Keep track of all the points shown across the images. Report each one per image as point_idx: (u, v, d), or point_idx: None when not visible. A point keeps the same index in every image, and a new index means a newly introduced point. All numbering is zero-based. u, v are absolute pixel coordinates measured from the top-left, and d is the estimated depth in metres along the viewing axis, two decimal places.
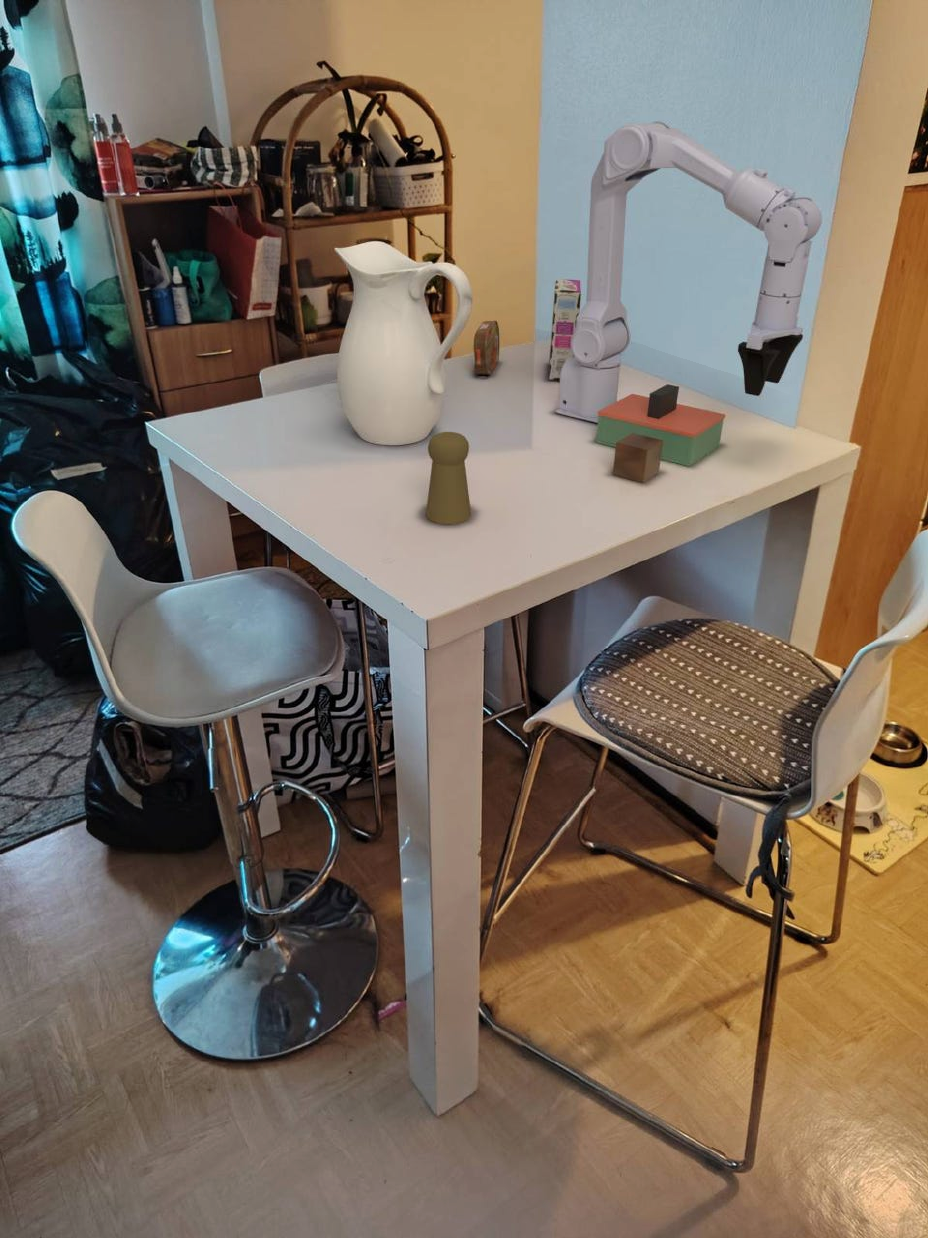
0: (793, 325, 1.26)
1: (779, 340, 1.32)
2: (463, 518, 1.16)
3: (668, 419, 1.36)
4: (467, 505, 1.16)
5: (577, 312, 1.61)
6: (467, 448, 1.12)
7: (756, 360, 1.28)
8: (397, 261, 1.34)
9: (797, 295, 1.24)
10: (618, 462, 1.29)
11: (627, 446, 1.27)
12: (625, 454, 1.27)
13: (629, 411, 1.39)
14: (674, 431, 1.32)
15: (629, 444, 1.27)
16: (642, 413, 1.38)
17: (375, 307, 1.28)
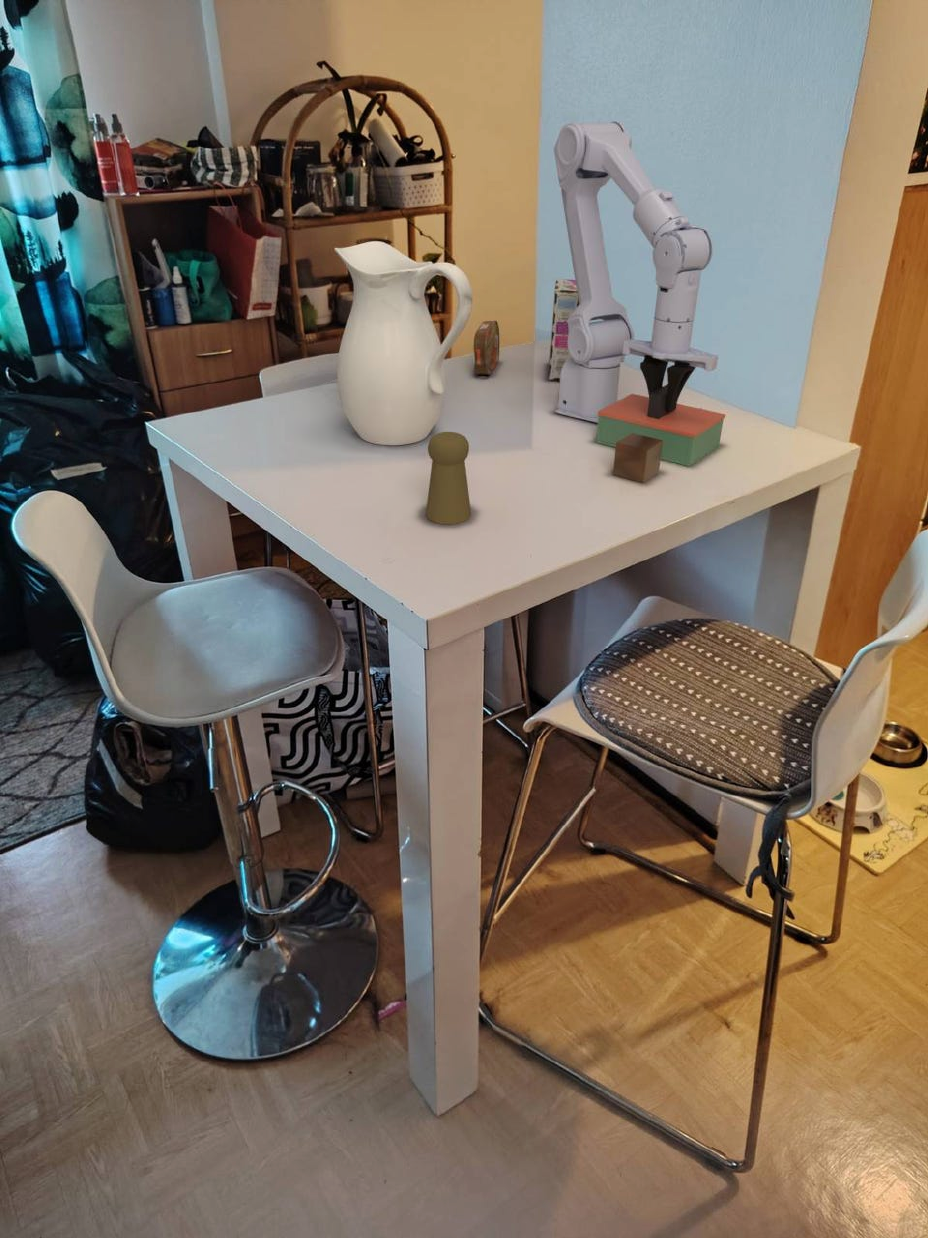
0: (660, 349, 1.31)
1: None
2: (463, 518, 1.16)
3: (668, 419, 1.36)
4: (467, 505, 1.16)
5: None
6: (467, 448, 1.12)
7: None
8: (397, 261, 1.34)
9: (660, 319, 1.29)
10: (618, 462, 1.29)
11: (627, 446, 1.27)
12: (625, 454, 1.27)
13: (629, 411, 1.39)
14: (674, 431, 1.32)
15: (629, 444, 1.27)
16: (642, 413, 1.38)
17: (375, 307, 1.28)
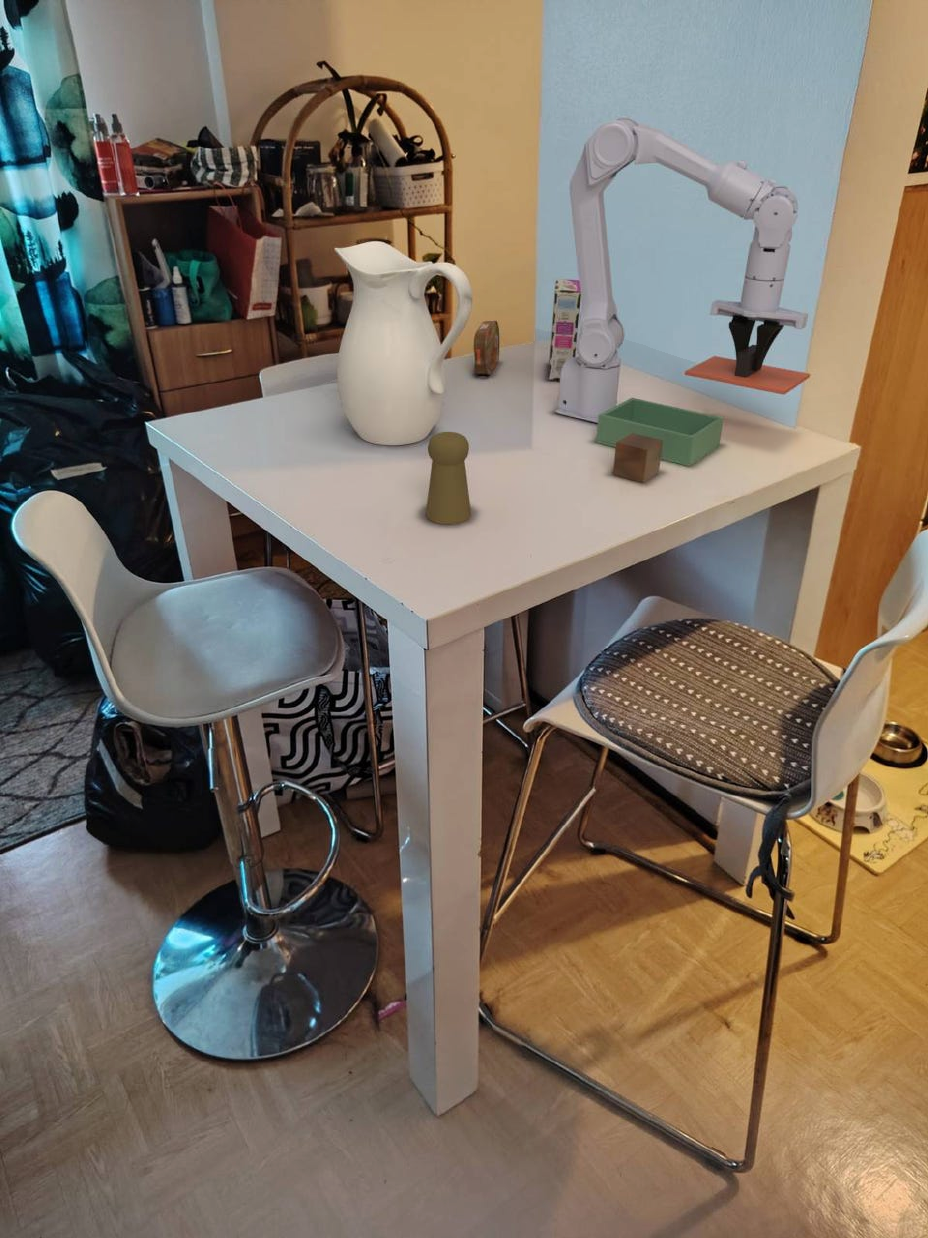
0: (750, 307, 1.34)
1: None
2: (463, 518, 1.16)
3: (755, 378, 1.38)
4: (467, 505, 1.16)
5: (577, 312, 1.61)
6: (467, 448, 1.12)
7: None
8: (397, 261, 1.34)
9: (752, 278, 1.32)
10: (618, 462, 1.29)
11: (627, 446, 1.27)
12: (625, 454, 1.27)
13: (715, 371, 1.41)
14: (764, 388, 1.35)
15: (629, 444, 1.27)
16: (729, 373, 1.41)
17: (375, 307, 1.28)
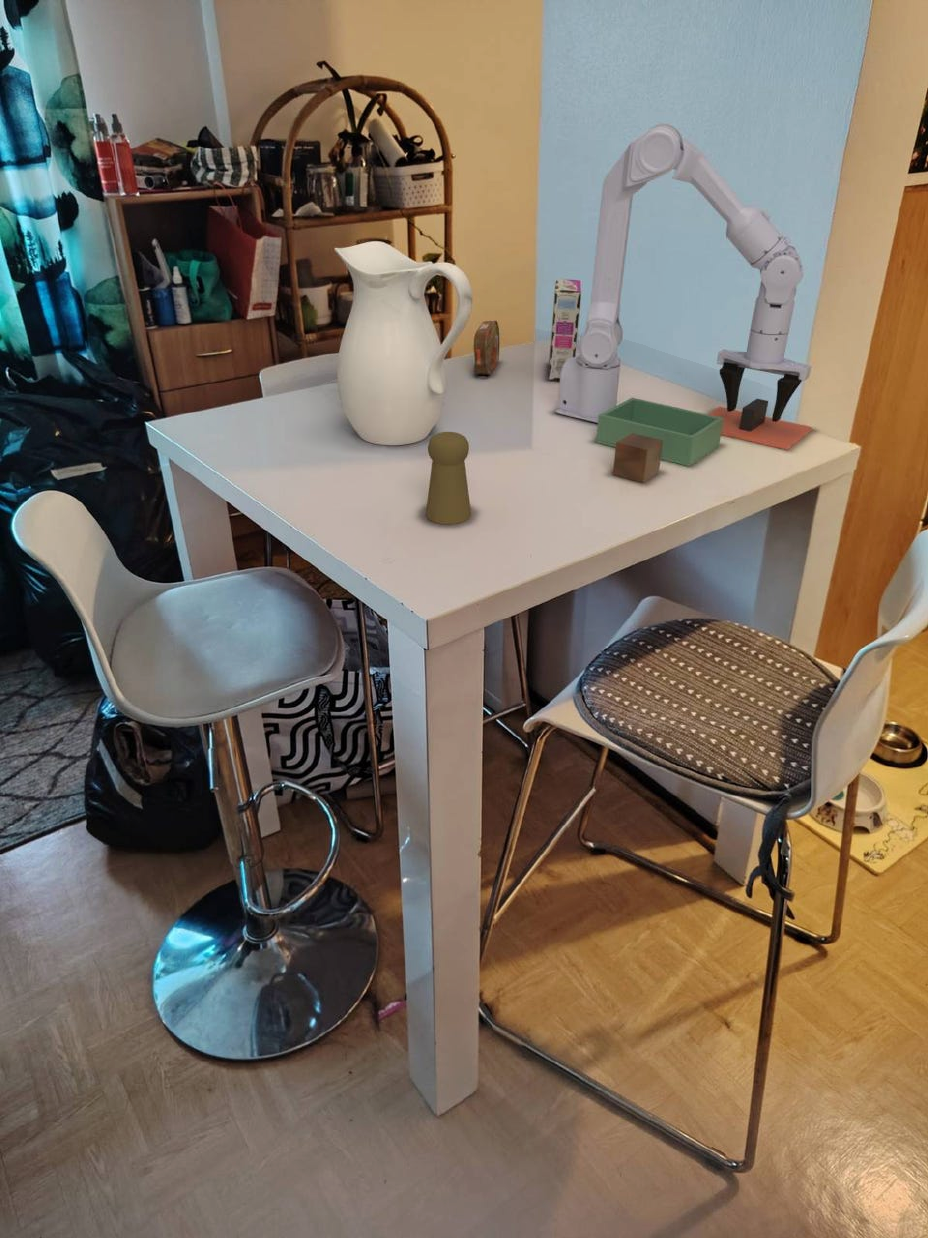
0: (756, 359, 1.39)
1: None
2: (463, 518, 1.16)
3: (759, 432, 1.44)
4: (467, 505, 1.16)
5: (577, 312, 1.61)
6: (467, 448, 1.12)
7: None
8: (397, 261, 1.34)
9: (757, 331, 1.37)
10: (618, 462, 1.29)
11: (627, 446, 1.27)
12: (625, 454, 1.27)
13: None
14: (767, 443, 1.41)
15: (629, 444, 1.27)
16: (734, 426, 1.46)
17: (375, 307, 1.28)
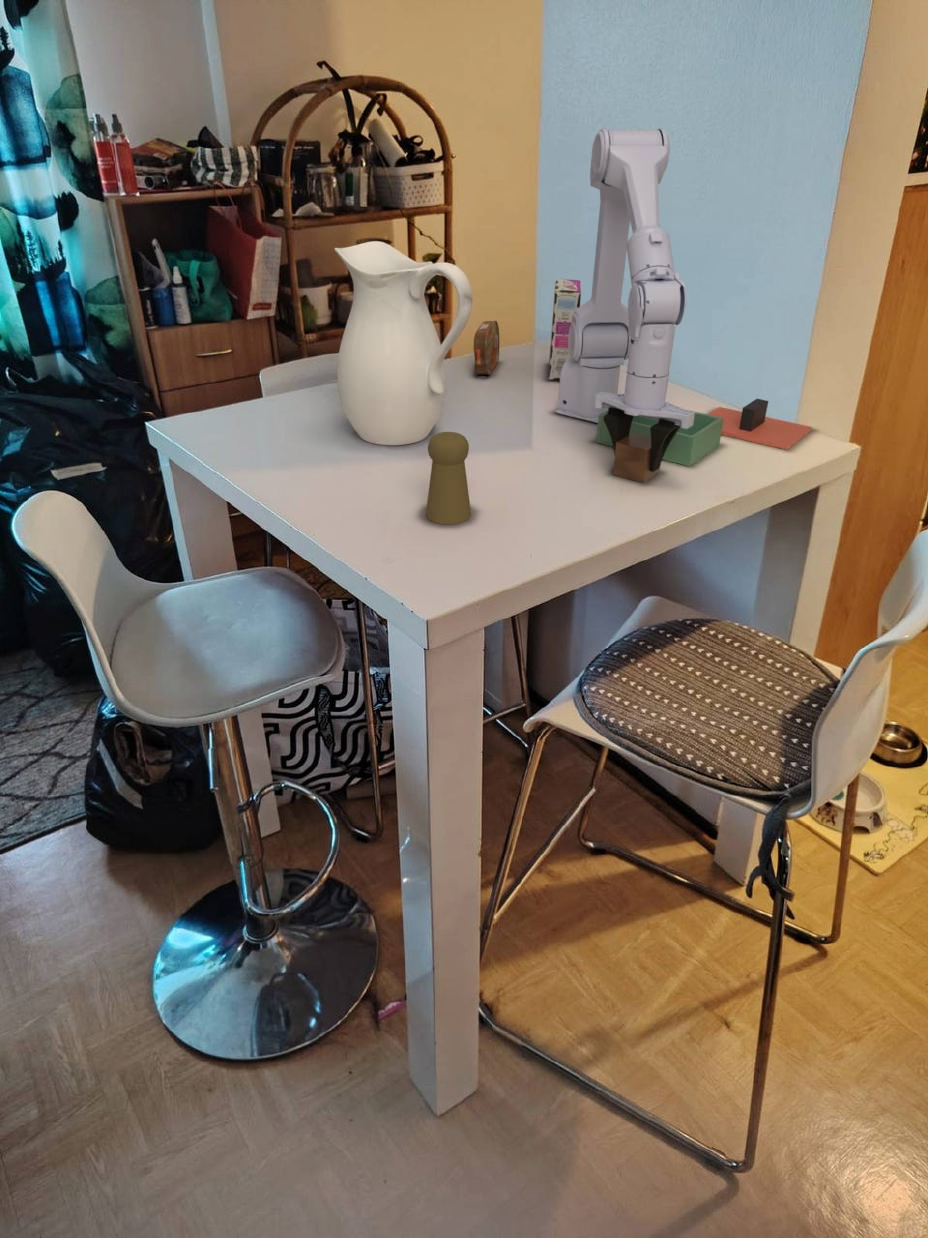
0: (633, 404, 1.23)
1: None
2: (463, 518, 1.16)
3: (759, 432, 1.44)
4: (467, 505, 1.16)
5: None
6: (467, 448, 1.12)
7: None
8: (397, 261, 1.34)
9: (633, 373, 1.21)
10: (618, 462, 1.29)
11: (627, 446, 1.27)
12: (625, 455, 1.27)
13: None
14: (767, 443, 1.41)
15: (629, 444, 1.27)
16: (734, 426, 1.46)
17: (375, 307, 1.28)
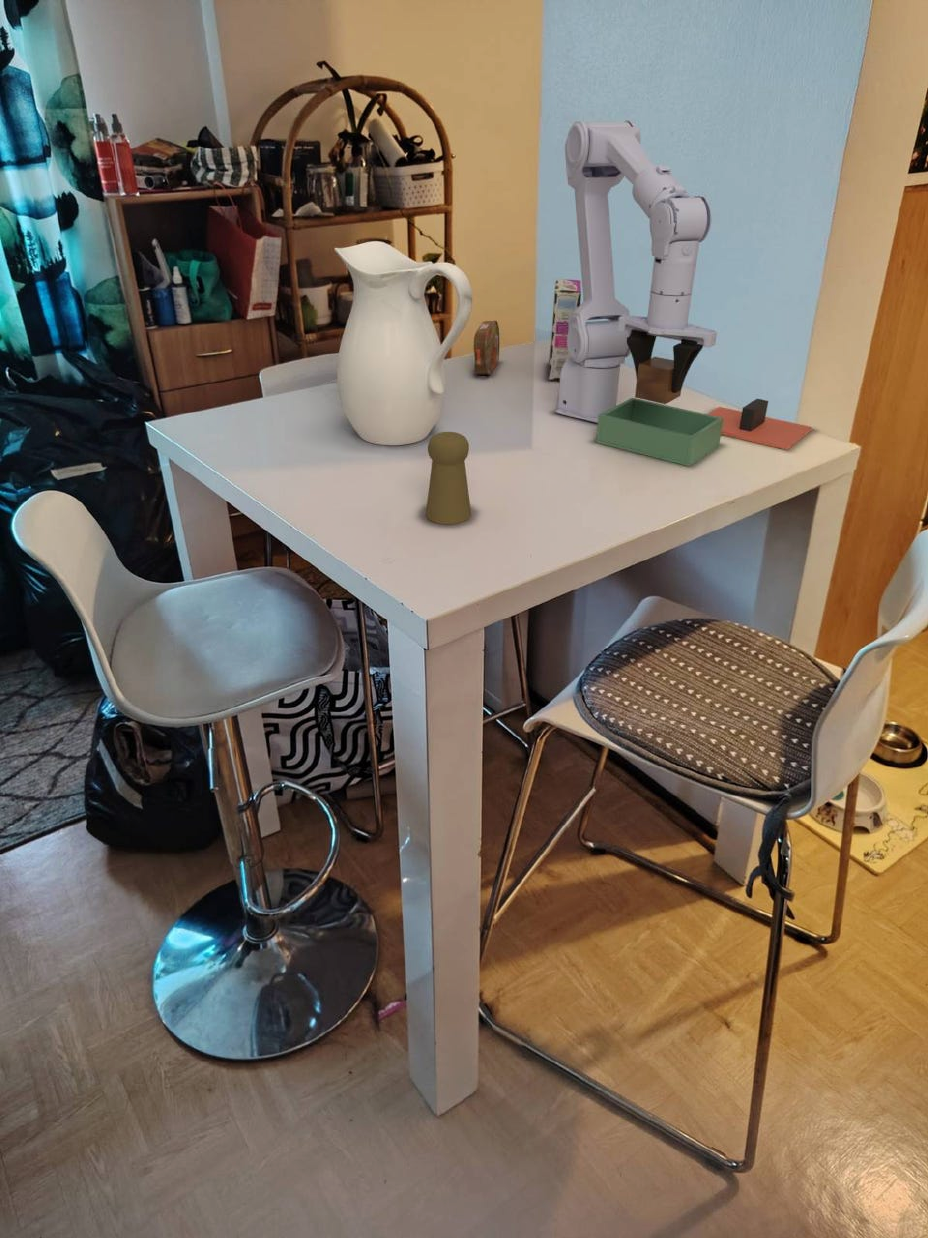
0: (656, 324, 1.25)
1: None
2: (463, 518, 1.16)
3: (759, 432, 1.44)
4: (467, 505, 1.16)
5: None
6: (467, 448, 1.12)
7: None
8: (397, 261, 1.34)
9: (656, 292, 1.23)
10: (641, 384, 1.31)
11: (649, 367, 1.29)
12: (647, 376, 1.30)
13: None
14: (767, 443, 1.41)
15: (651, 365, 1.29)
16: (734, 426, 1.46)
17: (375, 307, 1.28)
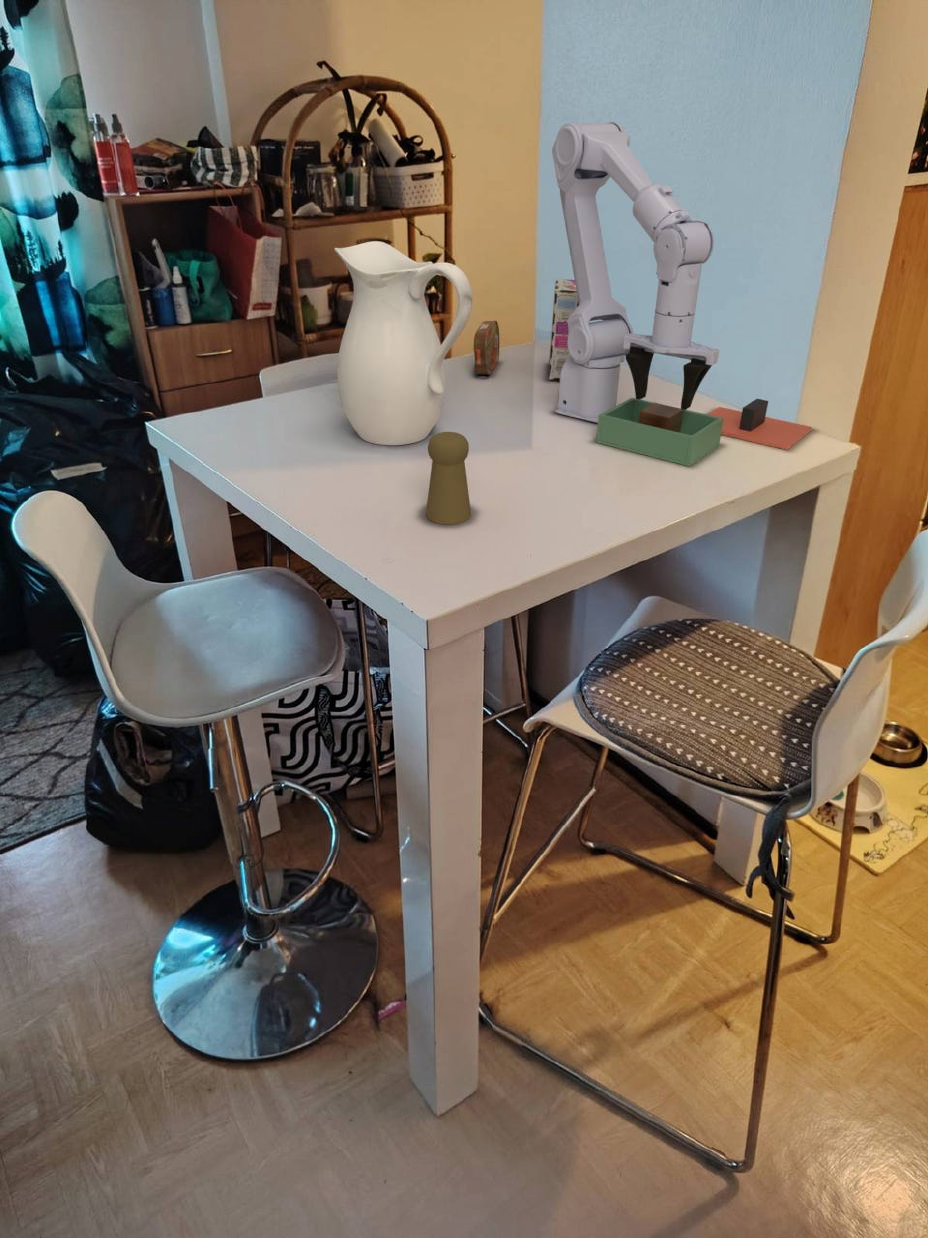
0: (660, 343, 1.31)
1: None
2: (463, 518, 1.16)
3: (759, 432, 1.44)
4: (467, 505, 1.16)
5: None
6: (467, 448, 1.12)
7: None
8: (397, 261, 1.34)
9: (661, 313, 1.29)
10: None
11: (650, 414, 1.37)
12: (648, 422, 1.38)
13: None
14: (767, 443, 1.41)
15: (652, 412, 1.37)
16: (734, 426, 1.46)
17: (375, 307, 1.28)
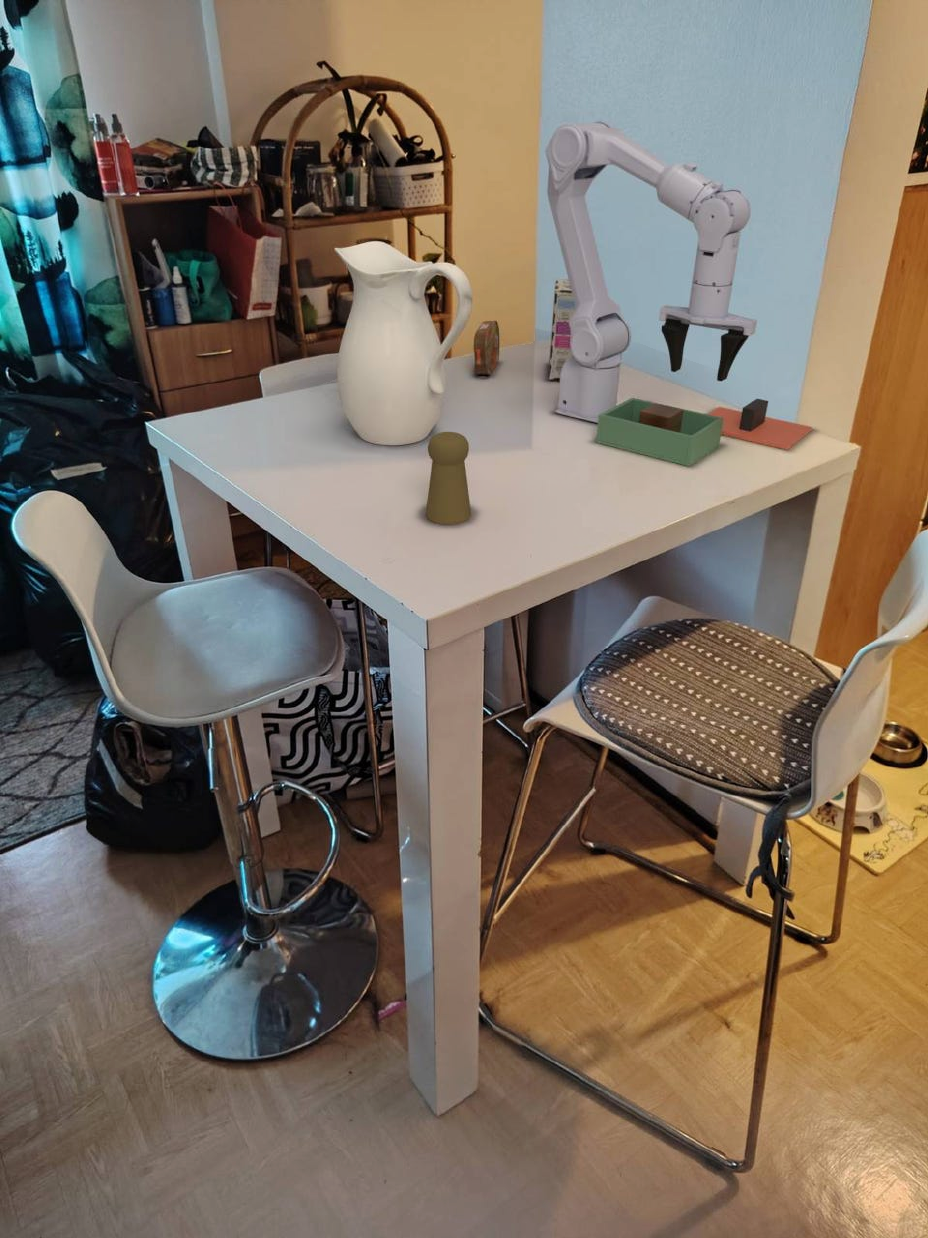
0: (698, 313, 1.30)
1: None
2: (463, 518, 1.16)
3: (759, 432, 1.44)
4: (467, 505, 1.16)
5: None
6: (467, 448, 1.12)
7: None
8: (397, 261, 1.34)
9: (699, 283, 1.29)
10: None
11: (650, 414, 1.37)
12: (648, 422, 1.38)
13: None
14: (767, 443, 1.41)
15: (652, 412, 1.37)
16: (734, 426, 1.46)
17: (375, 307, 1.28)
